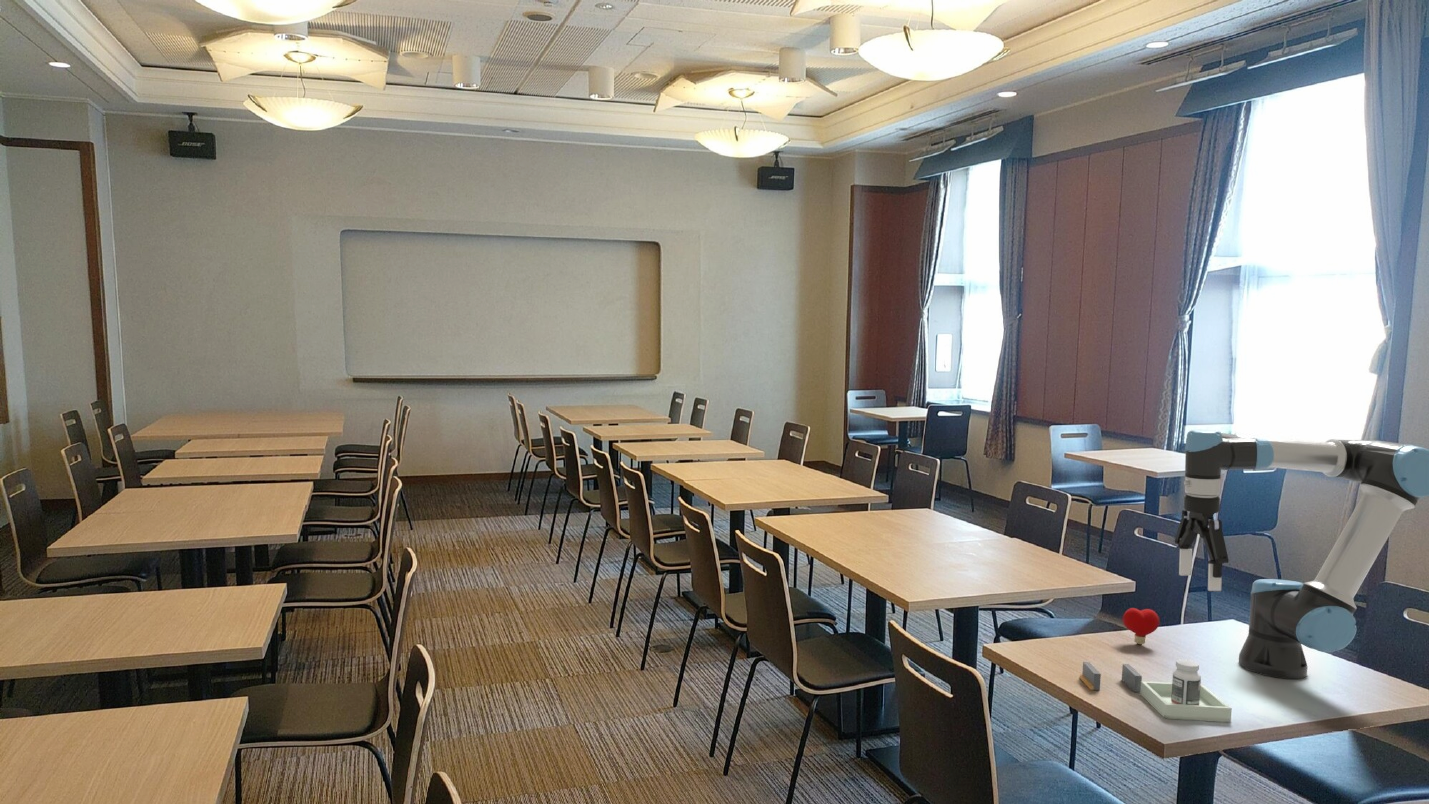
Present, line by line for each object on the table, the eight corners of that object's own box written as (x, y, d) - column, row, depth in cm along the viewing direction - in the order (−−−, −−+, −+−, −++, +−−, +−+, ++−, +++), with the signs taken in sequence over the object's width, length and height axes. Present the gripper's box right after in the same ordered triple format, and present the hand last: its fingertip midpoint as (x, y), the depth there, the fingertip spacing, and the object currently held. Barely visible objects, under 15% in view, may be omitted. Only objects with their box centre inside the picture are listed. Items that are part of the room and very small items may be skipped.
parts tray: (1201, 697, 217) (1202, 684, 217) (1230, 722, 203) (1231, 708, 203) (1140, 694, 218) (1141, 681, 218) (1165, 718, 204) (1166, 704, 204)
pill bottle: (1198, 703, 212) (1201, 661, 211) (1199, 712, 206) (1202, 668, 206) (1170, 698, 214) (1173, 656, 213) (1170, 707, 209) (1173, 664, 208)
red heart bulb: (1125, 647, 251) (1127, 611, 251) (1118, 639, 258) (1120, 604, 257) (1161, 650, 250) (1163, 614, 249) (1153, 642, 257) (1155, 606, 256)
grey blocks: (1130, 680, 227) (1131, 664, 227) (1143, 692, 219) (1144, 676, 219) (1079, 677, 228) (1080, 661, 227) (1090, 689, 220) (1091, 673, 219)
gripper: (1161, 486, 233) (1159, 569, 234) (1214, 504, 208) (1211, 597, 209) (1191, 486, 232) (1188, 569, 234) (1247, 504, 208) (1244, 597, 209)
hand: (1199, 582), depth 222 cm, fingers open, 13 cm apart
